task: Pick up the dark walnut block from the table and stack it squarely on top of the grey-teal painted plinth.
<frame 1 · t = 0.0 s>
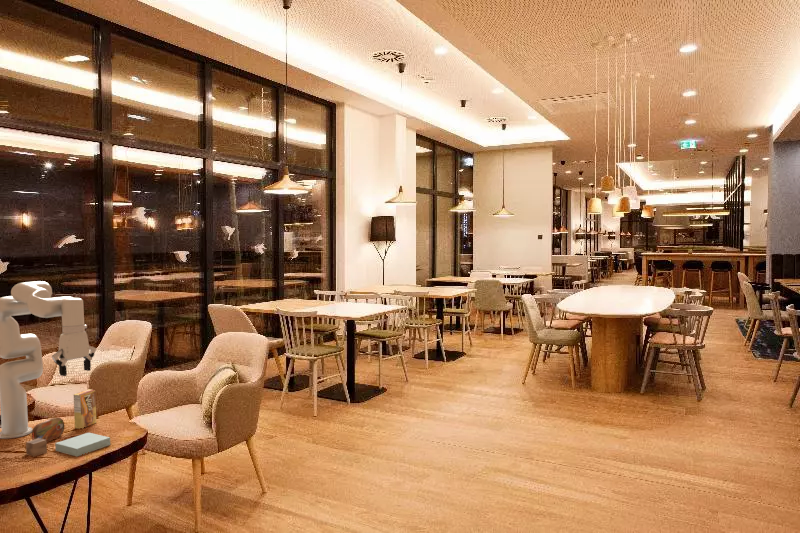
hand: (75, 372, 228), 31 cm above the table, tool pointing down, fingers open, 9 cm apart
tin: (48, 440, 242), on the table
plinth: (83, 447, 233), on the table
candy box: (85, 425, 261), on the table
walnut block: (36, 453, 228), on the table
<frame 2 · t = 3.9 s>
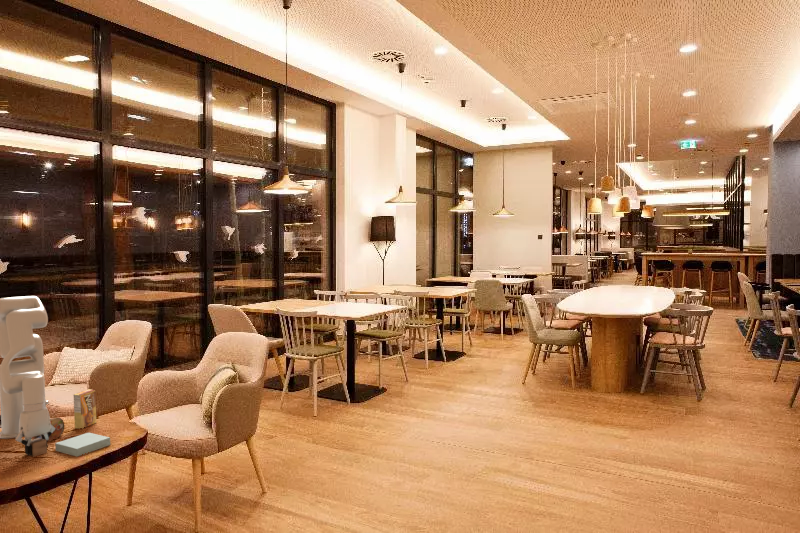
hand: (36, 452, 227), 0 cm above the table, tool pointing down, fingers closed on walnut block, 5 cm apart
walnut block: (36, 453, 228), on the table, touching gripper
everything else where it was.
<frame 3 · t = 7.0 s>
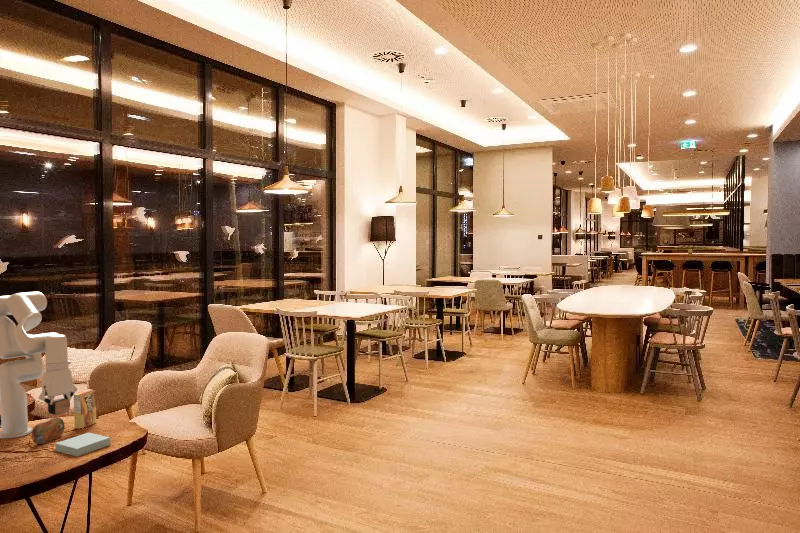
hand: (59, 411, 229), 16 cm above the table, tool pointing down, fingers closed on walnut block, 4 cm apart
walnut block: (59, 412, 229), point 15 cm above the table, touching gripper
everything else where it was.
when the fingers open (5 cm above the table, at t = 10.1 s): walnut block drops 1 cm, resting on plinth.
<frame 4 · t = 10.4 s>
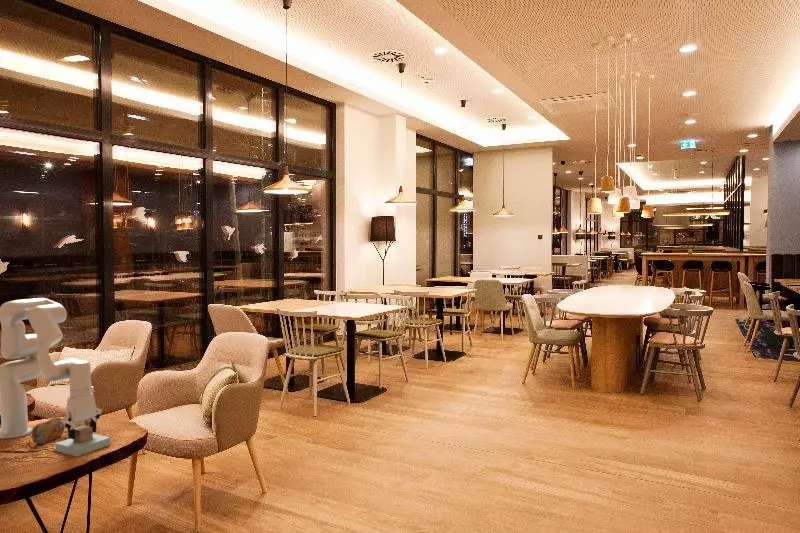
hand: (82, 434, 233), 5 cm above the table, tool pointing down, fingers open, 8 cm apart
walnut block: (83, 440, 233), point 3 cm above the table, touching plinth
everything else where it was.
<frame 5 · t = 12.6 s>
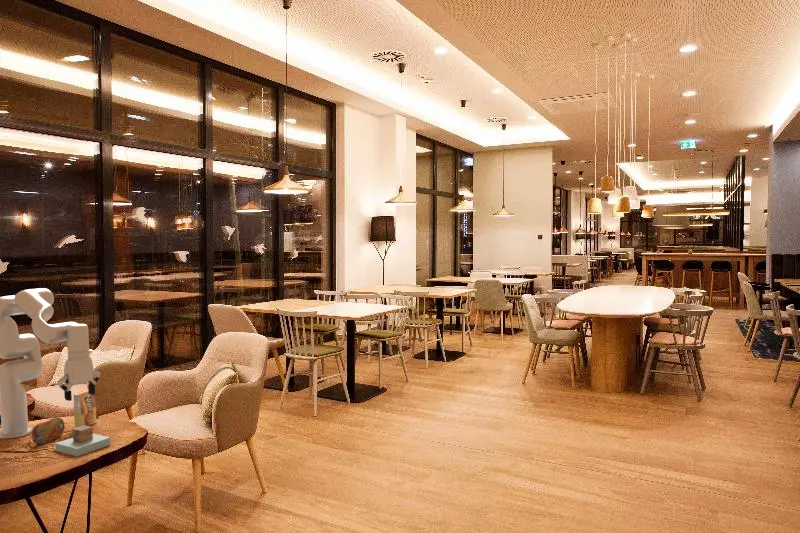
hand: (80, 397, 232), 20 cm above the table, tool pointing down, fingers open, 9 cm apart
nothing on the table moved.
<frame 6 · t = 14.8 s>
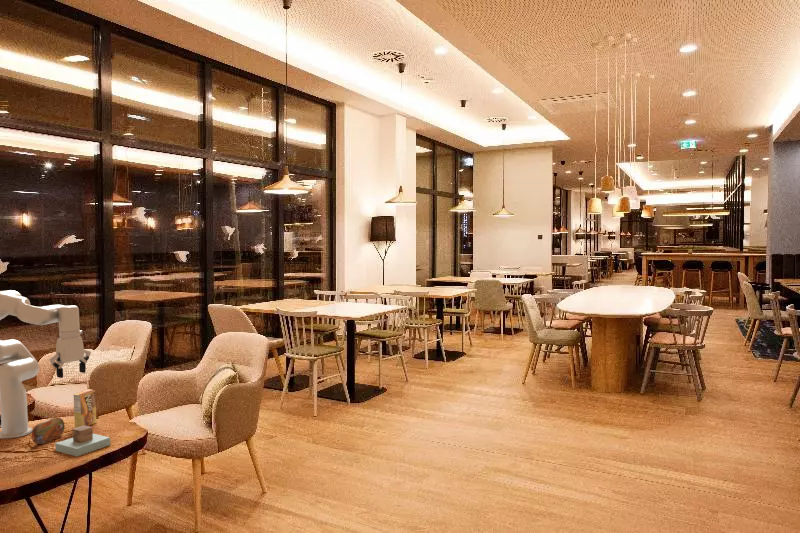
hand: (71, 374, 246), 26 cm above the table, tool pointing down, fingers open, 9 cm apart
nothing on the table moved.
at the end: walnut block inside the target area on the plinth (0.1 cm from its centre), point 3.0 cm above the plinth's base; walnut block tilted 0°; walnut block touching plinth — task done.
